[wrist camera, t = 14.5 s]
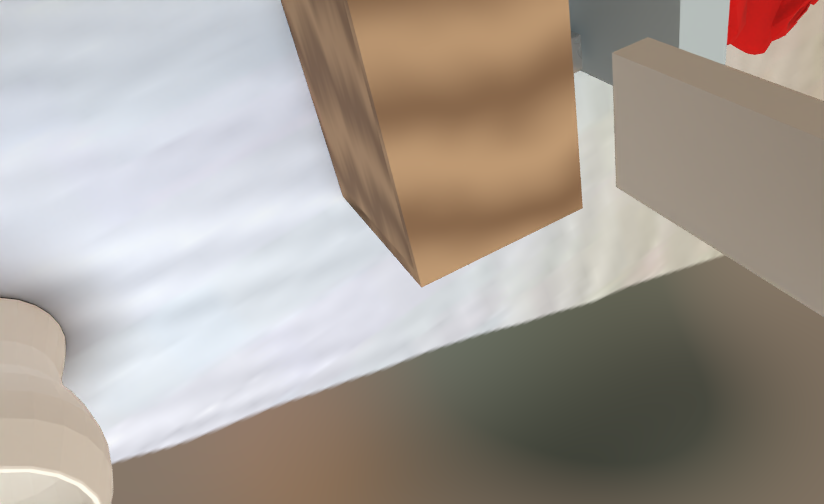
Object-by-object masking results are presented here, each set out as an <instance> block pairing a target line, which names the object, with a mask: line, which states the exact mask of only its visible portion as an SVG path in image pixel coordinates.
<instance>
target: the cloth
mask: <svg viewBox="0 0 824 504" xmlns="http://www.w3.org/2000/svg"><path fill="white" fill-rule="evenodd" d="M817 1H818V0H730V6H729V20H728V34H727V45H729V44H732V45H733V46H735V47H736V48H738V49H740V50H742V51H743V52H745V53H748V54H754V55H756V54H762V53H764V52H765V51H766V50H767V48H768V46H769V45H770V43H771V42H772V41H774V40H776V39H779V38H781V37H783V36H785V35H786V34H787V33H788V32H789V31H790V30H791V29H792V27H793V26H794V25H795V24H796V23H797V21H798V20H799V19H800V18H801V16H802V15H803V14H804V13H805V12H806V11H807V10H808V8H809V6H810V4H812V5H814V4H815V3H816V2H817Z"/></svg>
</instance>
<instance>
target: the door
mask: <svg viewBox="0 0 824 504" xmlns="http://www.w3.org/2000/svg"><path fill="white" fill-rule="evenodd" d="M729 6H730V0H569V14H570V29H571V31H573V32H575V33H578V34H580V35H581V49H582V66H583V70H580V71H583V72H585V73H587V74H589V75H591V76H593V77H596V78H598V79H600V80H602V81H604V82H606V83H608V84H611V85H613V70H612V52H615V51H617V50H619V49H621V48H624V47H626V46H628V45H631V44H633V43H635V42H638V41H640V40H642V39H645V38H647V37H649V38H652V39H655V40H657V41H660V42H663V43H666V44H668V45H671V46H674V47H677V48H679V49H682V50H685V51H687V52H690V53H693V54H696V55H698V56H701V57H704V58H707V59H709V60H712V61H715V62H718V63H720V64H723V65H725V61H726V48H727V34H728V20H729Z"/></svg>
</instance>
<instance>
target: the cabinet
mask: <svg viewBox="0 0 824 504" xmlns="http://www.w3.org/2000/svg"><path fill="white" fill-rule="evenodd" d="M281 2H282V6H283V9H284V12H285V15H286V18H287V21H288V24H289V28H290V31H291V34H292V37H293V40H294V43H295V47H296V50H297V53H298V56H299V59H300V62H301V65H302V69H303V72H304V75H305V78H306V81H307V84H308V87H309V91H310V94H311V97H312V100H313V103H314V106H315V110H316V113H317V116H318V119H319V122H320V125H321V128H322V132H323V135H324V138H325V141H326V144H327V147H328V151H329V154H330V157H331V160H332V163H333V166H334V169H335V173H336V176H337V179H338V182H339V185H340V188H341V192H342V195H343V197H344V198H345V199H346V201H347V202H348V203H349V204H350V205H351V206H352V207H353V209H354V210H355V211H356V212H357V213H358V214H359V216H360V217H361V218H362V219H363V220H364V221H365V223H366V224H367V225H368V226H369V227H370V228H371V229H372V231H373V232H374V233H375V234H376V235H377V236H378V238H379V239H380V240H381V241H382V242H383V243H384V244H385V246H386V247H387V248H388V249H389V250H390V251H391V253H392V254H393V255H394V256H395V257H396V258H397V260H398V261H399V262H400V263H401V264H402V265H403V266H404V268H405V269H406V270H407V271H408V272H409V273H410V275H411V276H412V277H413V278H414V279H415V280H416V281H417V283H418V284H419V285H420V286H421V287H423V286H425V285H428V284H430V283H432V282H434V281H436V280H438V279H440V278H442V277H444V276H446V275H448V274H450V273H452V272H454V271H456V270H458V269H460V268H462V267H464V266H466V265H468V264H470V263H472V262H474V261H476V260H478V259H480V258H482V257H484V256H486V255H488V254H490V253H492V252H494V251H496V250H499V249H501V248H503V247H505V246H507V245H509V244H511V243H513V242H515V241H517V240H519V239H521V238H523V237H525V236H527V235H529V234H531V233H533V232H535V231H537V230H539V229H541V228H543V227H545V226H547V225H549V224H551V223H553V222H555V221H557V220H559V219H561V218H563V217H565V216H567V215H570V214H572V213H574V212H576V211H578V210H580V209H582V208H583V207H582V192H581V177H580V162H579V148H578V133H577V118H576V103H575V88H574V74H573V59H572V44H571V29H570V14H569V0H281Z"/></svg>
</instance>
